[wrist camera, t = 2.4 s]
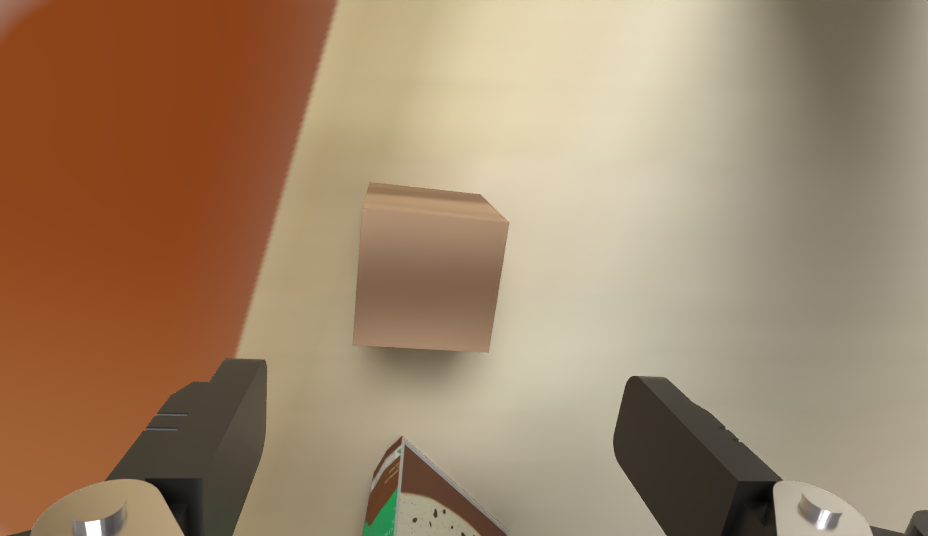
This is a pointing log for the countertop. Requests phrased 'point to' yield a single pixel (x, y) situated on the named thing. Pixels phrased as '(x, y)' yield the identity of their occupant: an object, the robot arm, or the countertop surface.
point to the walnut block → (428, 269)
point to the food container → (422, 500)
